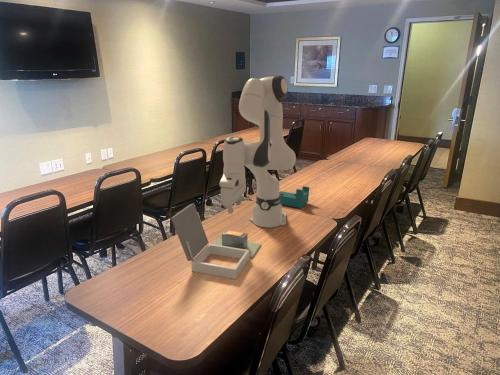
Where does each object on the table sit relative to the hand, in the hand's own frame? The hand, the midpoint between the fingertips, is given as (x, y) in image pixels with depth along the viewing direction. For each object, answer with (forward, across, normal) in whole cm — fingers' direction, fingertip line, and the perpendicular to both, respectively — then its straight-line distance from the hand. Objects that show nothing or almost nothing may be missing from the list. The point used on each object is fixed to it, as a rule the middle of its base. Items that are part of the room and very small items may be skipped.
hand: (234, 208), depth 149 cm
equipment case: (+18, +16, -1) cm, 24 cm away
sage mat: (+18, +1, 0) cm, 18 cm away
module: (+17, +1, 0) cm, 17 cm away
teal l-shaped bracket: (+20, -63, +11) cm, 67 cm away
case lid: (+5, +15, -12) cm, 20 cm away
